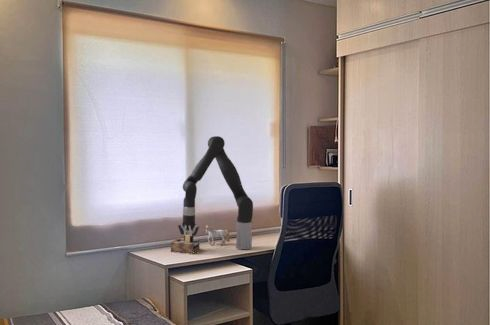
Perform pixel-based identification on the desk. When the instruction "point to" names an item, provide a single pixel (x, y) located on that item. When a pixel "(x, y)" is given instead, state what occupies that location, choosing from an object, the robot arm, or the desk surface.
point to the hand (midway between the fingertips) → (188, 241)
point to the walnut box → (184, 246)
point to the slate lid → (187, 239)
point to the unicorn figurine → (217, 234)
